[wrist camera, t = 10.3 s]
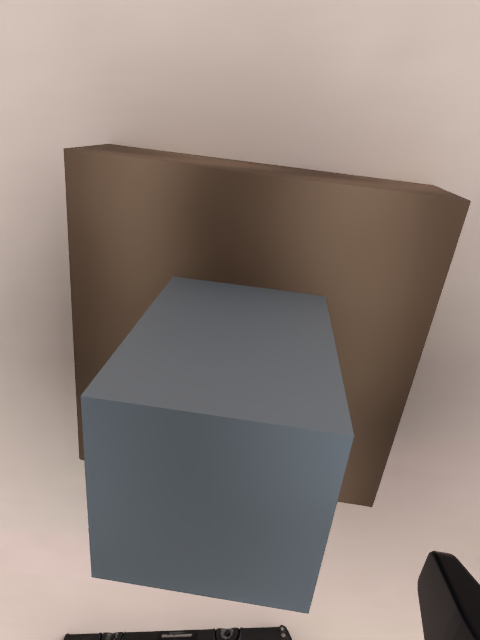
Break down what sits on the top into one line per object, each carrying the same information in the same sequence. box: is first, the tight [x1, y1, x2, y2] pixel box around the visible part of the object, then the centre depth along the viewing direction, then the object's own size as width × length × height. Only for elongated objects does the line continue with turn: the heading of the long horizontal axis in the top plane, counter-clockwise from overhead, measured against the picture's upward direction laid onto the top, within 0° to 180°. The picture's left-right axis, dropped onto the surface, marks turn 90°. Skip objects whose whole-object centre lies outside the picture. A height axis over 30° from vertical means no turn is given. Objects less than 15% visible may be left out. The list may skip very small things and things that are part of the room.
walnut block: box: [64, 144, 471, 507], centre depth 17 cm, size 12×12×4 cm
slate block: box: [81, 277, 354, 613], centre depth 12 cm, size 5×5×7 cm
